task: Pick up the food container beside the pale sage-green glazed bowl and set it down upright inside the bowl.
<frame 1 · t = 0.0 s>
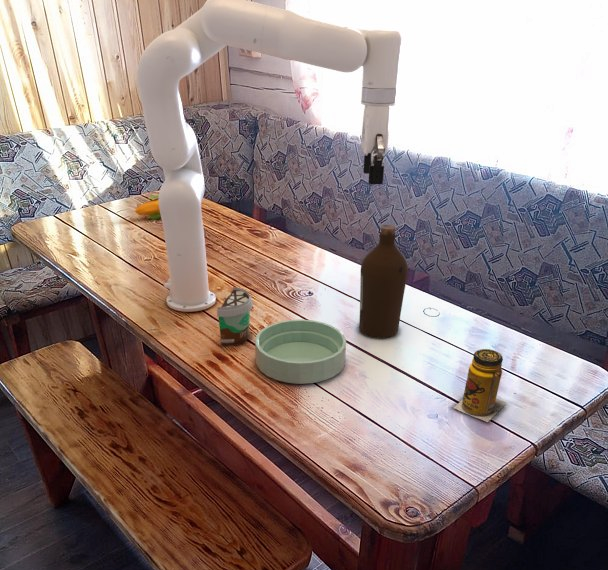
hand: (372, 178, 138), 31 cm above the table, tool pointing down, fingers open, 9 cm apart
condiment: (479, 407, 117), on the table
bowl: (300, 362, 130), on the table
olive oil: (378, 330, 143), on the table
food container: (240, 337, 139), on the table
corn: (162, 217, 213), on the table
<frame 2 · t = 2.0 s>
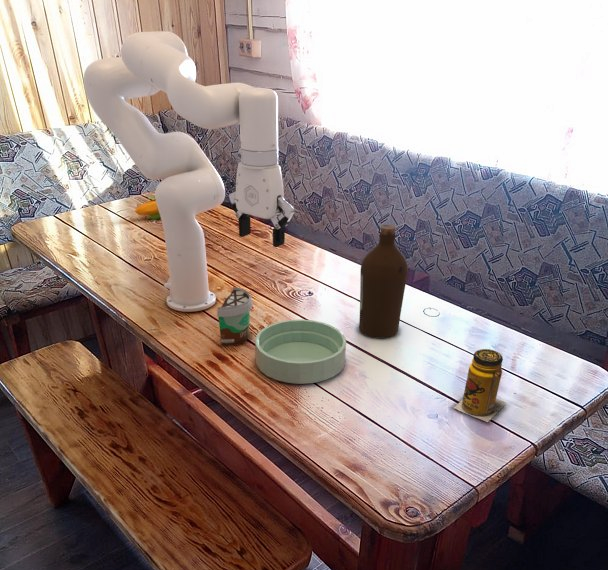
hand: (261, 240, 129), 22 cm above the table, tool pointing down, fingers open, 9 cm apart
nothing on the table moved.
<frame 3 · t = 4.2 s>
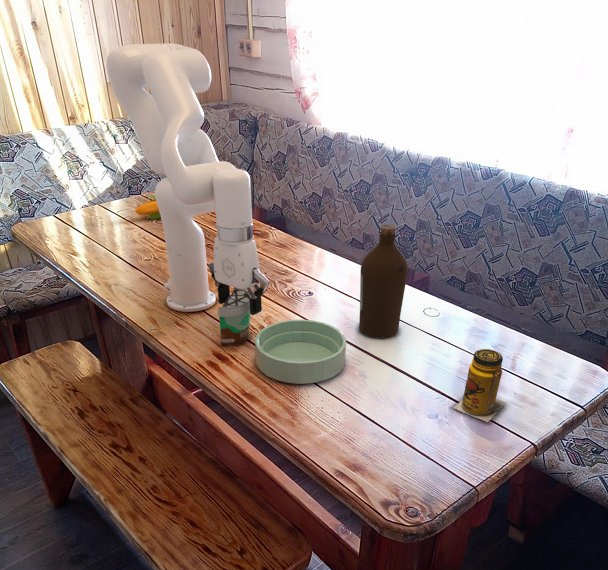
hand: (240, 307, 134), 8 cm above the table, tool pointing down, fingers open, 9 cm apart
nothing on the table moved.
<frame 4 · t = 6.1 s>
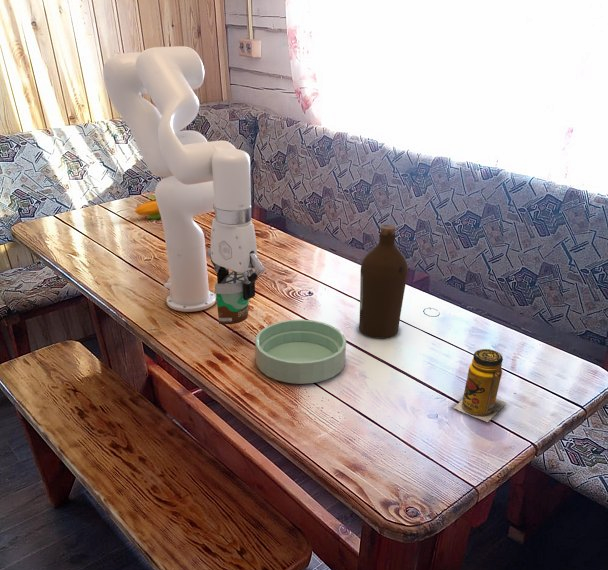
hand: (236, 292, 133), 11 cm above the table, tool pointing down, fingers closed on food container, 7 cm apart
food container: (239, 318, 136), point 5 cm above the table, touching gripper
everything else where it was.
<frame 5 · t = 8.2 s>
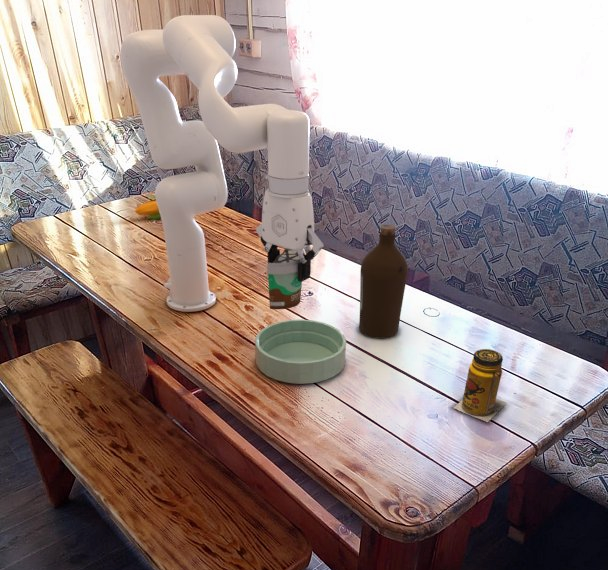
hand: (288, 274, 120), 20 cm above the table, tool pointing down, fingers closed on food container, 7 cm apart
food container: (290, 302, 124), point 13 cm above the table, touching gripper
everything else where it was.
when the fingers open (7 cm above the table, at t = 11.7 s): food container stays where it is, resting on bowl.
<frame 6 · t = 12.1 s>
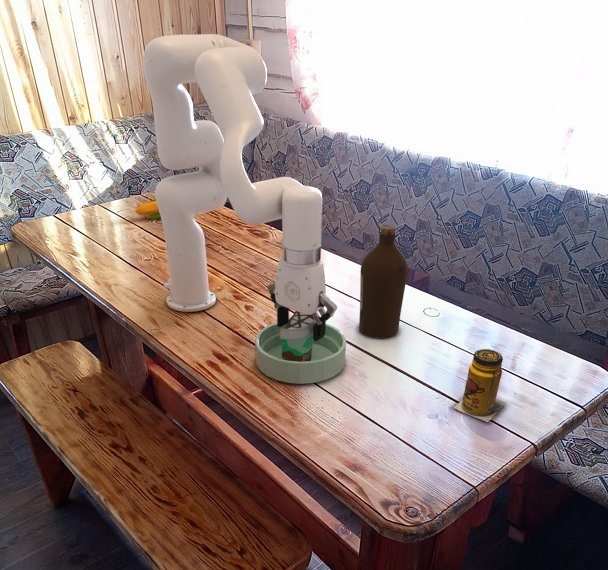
hand: (300, 331, 125), 7 cm above the table, tool pointing down, fingers open, 9 cm apart
food container: (302, 360, 129), resting on bowl
everything else where it was.
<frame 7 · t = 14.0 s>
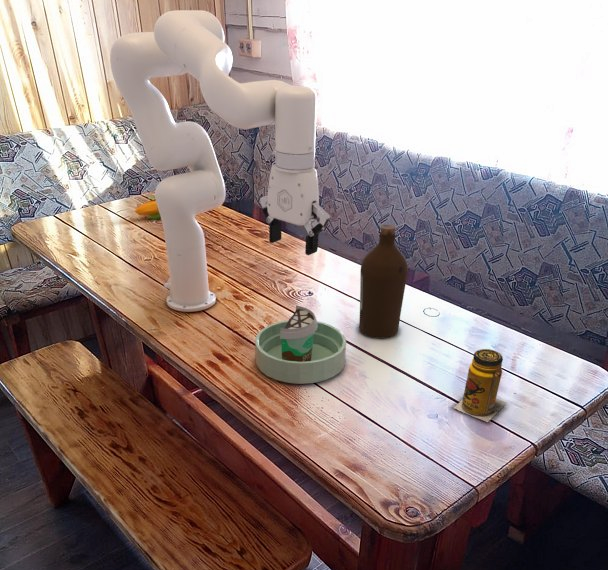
hand: (293, 247, 122), 23 cm above the table, tool pointing down, fingers open, 9 cm apart
nothing on the table moved.
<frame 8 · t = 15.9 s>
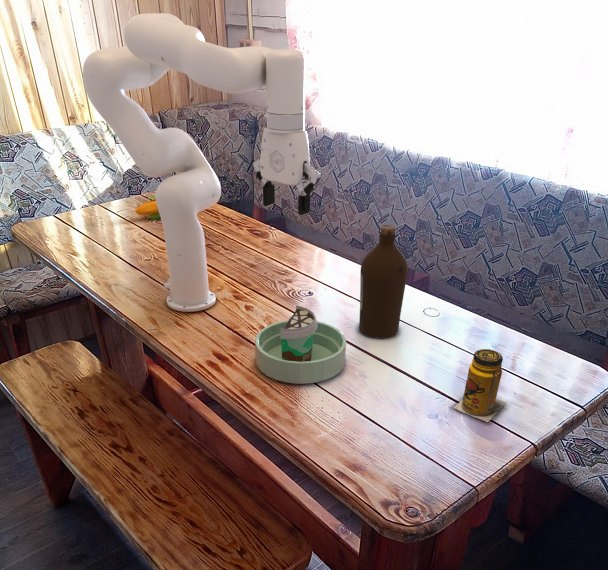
hand: (286, 209, 127), 28 cm above the table, tool pointing down, fingers open, 9 cm apart
nothing on the table moved.
at the end: food container inside the target area in the bowl (0.4 cm from its centre), point 0.4 cm above the bowl's base; food container tilted 0°; the gripper is holding nothing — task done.
